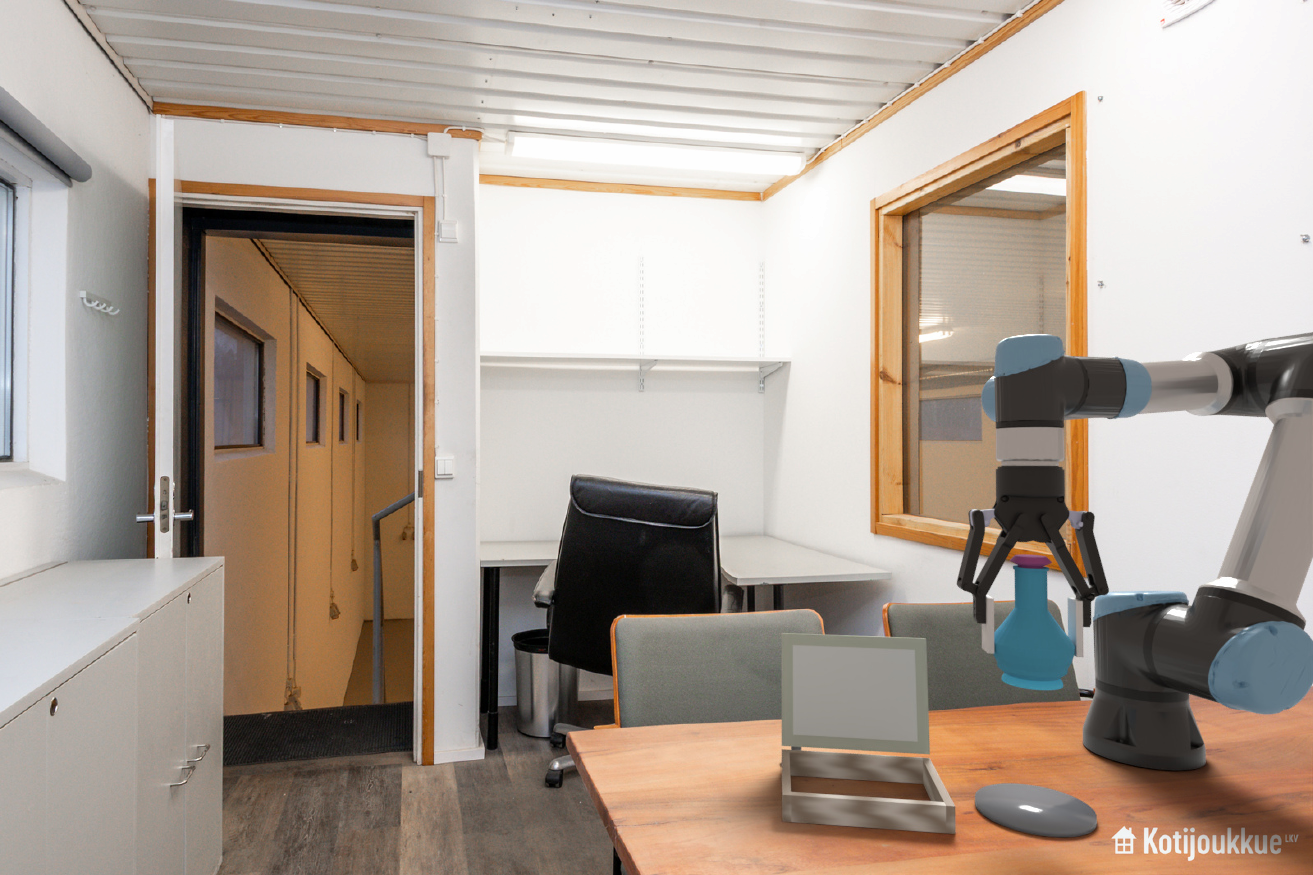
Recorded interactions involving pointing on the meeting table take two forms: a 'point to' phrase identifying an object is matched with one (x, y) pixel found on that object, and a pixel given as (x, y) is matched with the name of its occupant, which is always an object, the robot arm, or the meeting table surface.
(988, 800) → the saucer
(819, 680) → the lid
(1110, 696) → the robot arm
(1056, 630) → the perfume bottle
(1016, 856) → the meeting table surface
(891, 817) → the cold frame
